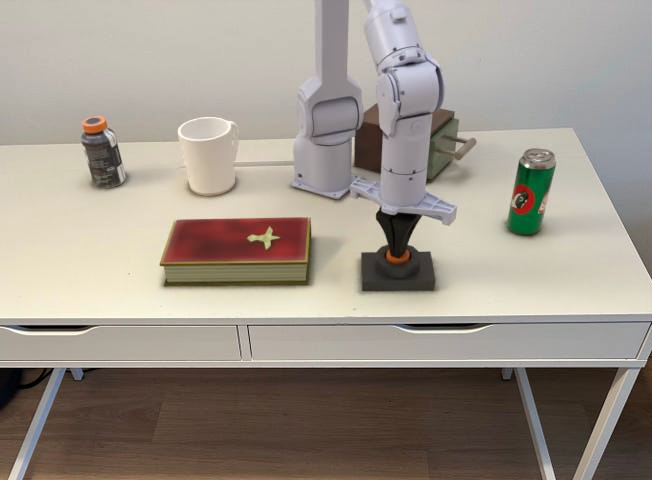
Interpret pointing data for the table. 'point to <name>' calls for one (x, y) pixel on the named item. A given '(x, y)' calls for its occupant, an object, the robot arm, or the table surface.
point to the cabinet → (372, 137)
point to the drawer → (446, 147)
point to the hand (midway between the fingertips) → (398, 253)
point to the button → (402, 259)
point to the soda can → (531, 191)
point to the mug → (209, 154)
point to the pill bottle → (102, 153)
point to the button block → (397, 271)
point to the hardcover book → (238, 252)
